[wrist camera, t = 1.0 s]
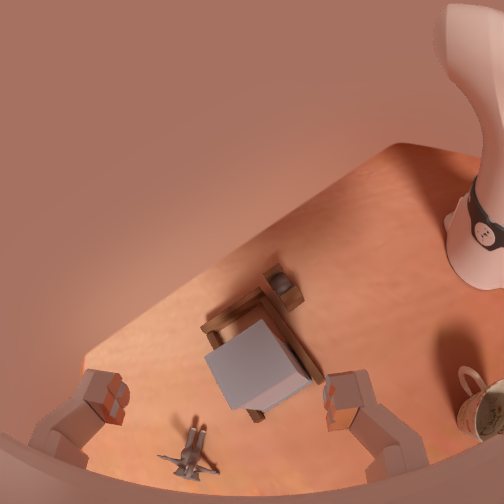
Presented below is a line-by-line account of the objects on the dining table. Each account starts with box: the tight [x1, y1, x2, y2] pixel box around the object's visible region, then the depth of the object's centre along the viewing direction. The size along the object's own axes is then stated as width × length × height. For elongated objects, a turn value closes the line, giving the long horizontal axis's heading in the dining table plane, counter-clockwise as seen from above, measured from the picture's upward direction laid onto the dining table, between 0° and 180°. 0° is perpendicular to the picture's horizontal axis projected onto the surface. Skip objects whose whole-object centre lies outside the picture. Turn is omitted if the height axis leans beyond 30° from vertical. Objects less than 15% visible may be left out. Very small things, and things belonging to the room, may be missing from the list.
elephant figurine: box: [157, 428, 220, 481], centre depth 35 cm, size 10×6×9 cm
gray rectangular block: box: [204, 319, 312, 412], centre depth 36 cm, size 8×7×12 cm
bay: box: [200, 263, 326, 423], centre depth 42 cm, size 16×19×4 cm
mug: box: [457, 366, 504, 443], centre depth 24 cm, size 8×13×10 cm, turn 26°
